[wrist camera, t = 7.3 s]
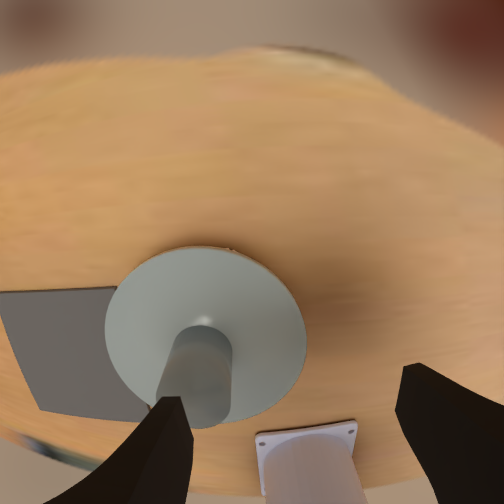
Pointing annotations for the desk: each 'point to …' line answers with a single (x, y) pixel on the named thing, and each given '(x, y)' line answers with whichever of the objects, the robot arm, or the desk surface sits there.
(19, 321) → the mat
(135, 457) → the robot arm
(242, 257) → the lid
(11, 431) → the desk surface
